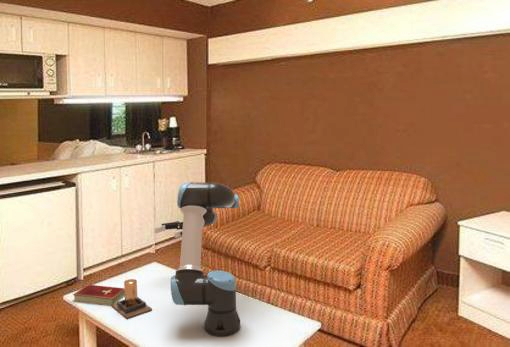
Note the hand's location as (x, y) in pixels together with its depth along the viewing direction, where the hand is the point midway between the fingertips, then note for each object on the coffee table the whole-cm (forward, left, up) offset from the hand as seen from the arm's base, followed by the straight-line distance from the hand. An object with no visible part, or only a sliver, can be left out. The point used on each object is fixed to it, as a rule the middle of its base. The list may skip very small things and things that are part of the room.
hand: (164, 233), depth 209 cm
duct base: (-6, +22, -30) cm, 38 cm away
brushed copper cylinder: (-6, +22, -29) cm, 37 cm away
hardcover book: (+14, +28, -31) cm, 44 cm away
